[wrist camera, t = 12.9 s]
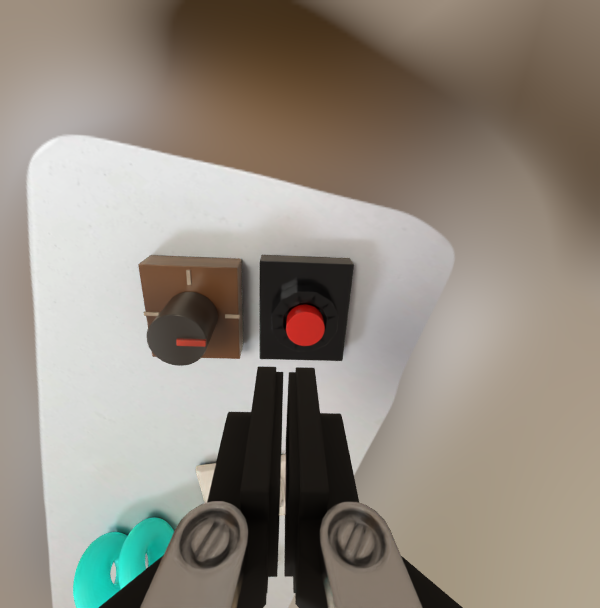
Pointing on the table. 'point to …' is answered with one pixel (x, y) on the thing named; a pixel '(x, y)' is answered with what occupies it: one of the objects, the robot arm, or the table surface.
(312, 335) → the power button
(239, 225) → the table surface
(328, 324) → the switch block
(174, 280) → the dimmer panel
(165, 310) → the dimmer knob
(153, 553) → the donuts
